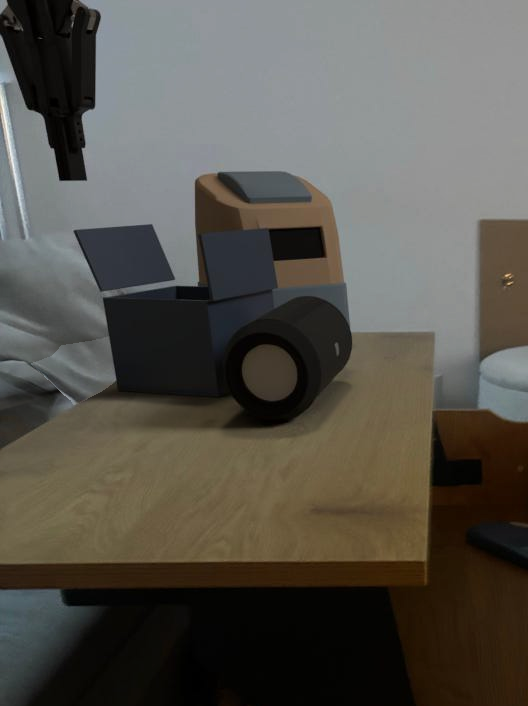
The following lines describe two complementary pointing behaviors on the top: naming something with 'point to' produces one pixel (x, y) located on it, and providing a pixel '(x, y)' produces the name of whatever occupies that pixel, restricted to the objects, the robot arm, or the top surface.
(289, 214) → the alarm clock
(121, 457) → the top surface
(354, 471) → the top surface
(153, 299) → the carton
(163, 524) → the top surface
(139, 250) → the flap
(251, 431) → the top surface
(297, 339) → the portable speaker
